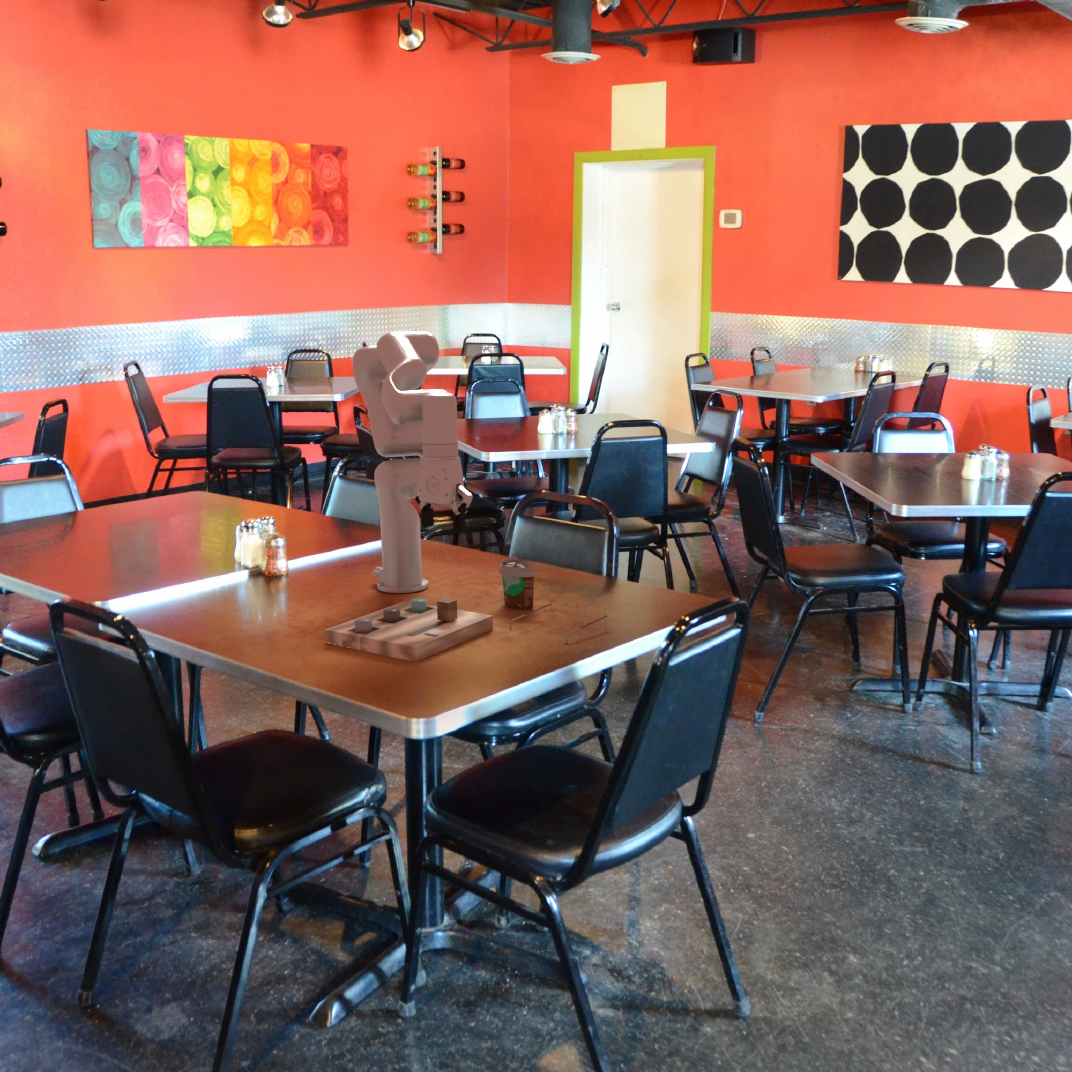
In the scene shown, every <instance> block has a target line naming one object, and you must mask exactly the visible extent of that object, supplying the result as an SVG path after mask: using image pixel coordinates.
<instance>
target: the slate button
mask: <svg viewBox="0 0 1072 1072" xmlns="http://www.w3.org/2000/svg"><path fill="white" fill-rule="evenodd" d="M358 618H359V617H358ZM355 619H356V618H355ZM370 632H373V628H372V619H370V618H359V619H356V620H355V633H360V634H367V633H370Z"/></svg>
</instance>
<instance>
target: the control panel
mask: <svg viewBox="0 0 1072 1072" xmlns="http://www.w3.org/2000/svg"><path fill="white" fill-rule="evenodd" d="M387 608H399V609H400V616H401V621H399V622H397V623H394V624H392V623H387V622H384V617H383V610H384V609H387ZM493 617H494V615H492V614H491V615H490V614H485V613H480V612H475V611H473V612H472V611H467V610H462V609H457V619H454V620H452V621H449V622H448V621H442V620H437V605H432V604H427V611H426V612H423V613H421V614H420V613H415V612H411V606H410V601H409V600H405V601H402V602H399V603H395V604H393V605H391V606H388V607H385V608H381V609H380V610H377V611H374V612H370V613H368V614H365V615H362V616H360V617H357V618H354V619H350V620H348V621H345V622H343V623H340V624H337V625H335V626H332V627H328V628H325V643H326V642H329V643H333V644H336V645H340V646H339V647H341V646H344V647H343V648H346V647H350V648H349V649H351V648H353V649H352V650H355V649H357V650H356V651H360V650H362V651H361V652H365V651H366V652H367V653H370V652H371V653H370V654H377V655H381V656H386V657H391V658H395V659H400V660H406V661H411V662H415V663H417V662H419V661H422V660H423V659H426V658H429V657H431V656H433V655H435V654H438V653H440V652H443V651H445V650H447V649H450V648H452V647H456V645H460V644H461V643H464V642H466V641H468V640H471V639H474V638H475V637H477V636H480V635H483V634H485V633H487V632H489V631H492V630H493V629H494V618H493ZM359 618H370V619H372V628H373V632H370V633H367V634H360V633H355V620H356V619H359ZM336 645H335V646H336ZM366 652H365V653H366Z"/></svg>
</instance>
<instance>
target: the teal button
mask: <svg viewBox="0 0 1072 1072" xmlns="http://www.w3.org/2000/svg"><path fill="white" fill-rule="evenodd" d="M409 602H410V606H411V612H415V613H420V614H421V613H423V612H426V611H427V605H428V599H427V598H424V597H423V598H421V597H417V598H411V599H410V601H409Z"/></svg>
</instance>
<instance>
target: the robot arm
mask: <svg viewBox="0 0 1072 1072" xmlns="http://www.w3.org/2000/svg"><path fill="white" fill-rule="evenodd" d="M439 346H440V345H439V342H438V340H437V338H436V337H435V335H434V334H432V333H431V332H429V331H426V330H412V331H411V330H409V331H408V330H407V331H391V332H388V333H385V334H383V335H382V336H380V337H379V339H378V341H377V343H376V344H373V345H366V346H362V347H360V348H358V349H357V350H356V351H355V352H354V353H353V356H352V373H353V378H354V381H355V385H356V387H357V389H358V391H359V393H360V395H361V397H362V399H363V401H364V403H365V406H366V409H367V415H368V420H369V425H370V431H371V436H372V441H373V445H374V449H375V450H376V452H377V454H378V455H380V456H382V457H386V458H393V457H394V458H395V457H399V459H398V458H397V459H390V460H386V461H383V462H381V463H380V464H378V465H377V467H376V468H375V469H374V474H373V475H374V476H373V477H374V478H373V479H374V484H375V485H374V486H375V490H376V496H377V498H378V507H379V519H380V522H379V523H380V524H379V525H380V539H381V541H380V543H381V561H382V565H381V566H376V567H375V568H374V570H373V571H372V573H371V574H372V576H373V577H378V578H379V581H378V582H377V583H376V589H377V590H378V591H380V592H384V593H391V594H409V593H414V592H415V593H416V592H420V591H423V590H426V589H428V587H429V581H428V579H425V578H423V571H422V570H423V569H422V546H421V545H422V541H421V528H423V529H426V528H430V527H434V526H435V518H434V517H435V515H434V507H432V506H433V505H438V506H442V507H443V506H444V507H445V506H449V507H450V508H451V509H452V511H453V514H452V532H453V534H459V533H462V532H466V514H467V513H468V510H469V509H470V507H471V503H472V501H473V498H474V496H473V494H472V493H471V492H469V491H468V489H466V488H465V485H464V484H465V483H464V474H463V468H462V462H461V459H460V457H459V438H458V437H459V435H458V434H459V432H458V407H457V405H458V403H457V397H456V396H455V395H454V394H453V393H451V392H448V391H447V390H446V389H439V388H438V389H437V388H435V389H419V388H420V387H421V386H422V385H424V383H425V381H426V379H427V375H428V372H430V371H431V370H432V369H434V367H435V366H436V364H437V363H438V361H439V358H440V347H439ZM409 456H410V457H411V456H418V457H414V458H400V457H409ZM410 499H415V501H416V503H417V505H418V509H419V510H420V515H419V513H418V511H417V509H416V508H415V507H414V506H413V504H411V503H410ZM420 521H421V522H420Z"/></svg>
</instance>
